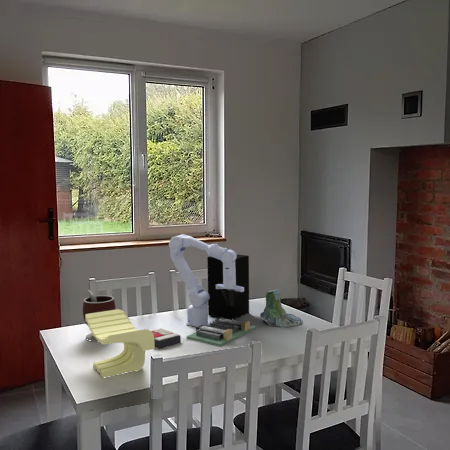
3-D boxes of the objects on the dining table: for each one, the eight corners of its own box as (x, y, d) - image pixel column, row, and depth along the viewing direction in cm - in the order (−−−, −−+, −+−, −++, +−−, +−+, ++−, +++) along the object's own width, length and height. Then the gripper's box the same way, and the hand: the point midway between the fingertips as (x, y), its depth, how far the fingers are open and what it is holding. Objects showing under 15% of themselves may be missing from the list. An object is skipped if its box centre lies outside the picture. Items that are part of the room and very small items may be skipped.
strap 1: (199, 329, 214) (199, 327, 214) (204, 327, 216) (203, 325, 216) (223, 333, 207) (223, 332, 206) (227, 332, 209) (227, 330, 209)
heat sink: (193, 334, 213) (193, 326, 212) (222, 322, 231) (222, 314, 230) (224, 341, 203) (224, 333, 203) (252, 328, 221) (251, 320, 221)
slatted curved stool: (155, 377, 171) (154, 327, 169) (110, 387, 163) (108, 335, 161) (126, 351, 196) (125, 308, 195) (87, 359, 188) (85, 314, 187)
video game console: (231, 320, 236) (230, 259, 233) (208, 315, 245) (207, 256, 242) (249, 313, 248) (248, 255, 245) (226, 309, 257) (225, 253, 254)
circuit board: (186, 338, 211) (186, 336, 211) (223, 322, 234) (223, 320, 234) (220, 346, 201) (220, 343, 201) (255, 328, 224) (255, 326, 224)
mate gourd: (122, 336, 215) (121, 292, 213) (95, 344, 205) (93, 298, 203) (102, 329, 225) (101, 286, 223) (75, 336, 215) (73, 292, 213)
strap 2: (218, 321, 225) (218, 319, 225) (222, 319, 227) (222, 317, 227) (241, 325, 218) (240, 323, 218) (244, 323, 220) (244, 321, 220)
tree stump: (292, 331, 221) (282, 292, 221) (255, 334, 232) (246, 297, 232) (308, 319, 236) (299, 283, 236) (273, 322, 248) (264, 288, 248)
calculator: (161, 327, 217) (180, 333, 205) (161, 336, 217) (181, 343, 205) (139, 332, 210) (158, 339, 198) (140, 342, 210) (159, 349, 198)
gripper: (247, 276, 223) (248, 305, 224) (221, 273, 231) (222, 301, 232) (239, 279, 217) (239, 309, 218) (212, 276, 225) (213, 305, 226)
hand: (230, 305), depth 225 cm, fingers closed
